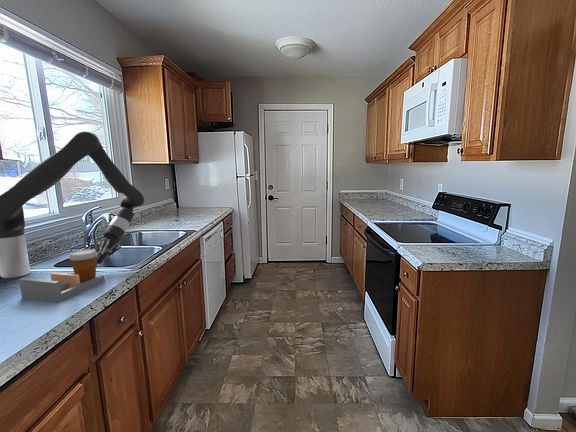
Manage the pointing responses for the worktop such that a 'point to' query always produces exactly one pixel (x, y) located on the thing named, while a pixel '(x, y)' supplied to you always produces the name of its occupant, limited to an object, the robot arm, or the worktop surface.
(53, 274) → the pusher plate
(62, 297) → the grey shallow tray
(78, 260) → the disposable coffee cup
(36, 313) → the worktop surface
